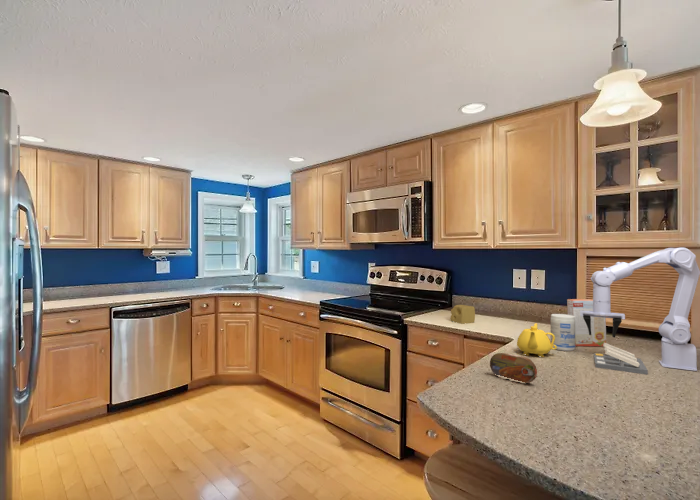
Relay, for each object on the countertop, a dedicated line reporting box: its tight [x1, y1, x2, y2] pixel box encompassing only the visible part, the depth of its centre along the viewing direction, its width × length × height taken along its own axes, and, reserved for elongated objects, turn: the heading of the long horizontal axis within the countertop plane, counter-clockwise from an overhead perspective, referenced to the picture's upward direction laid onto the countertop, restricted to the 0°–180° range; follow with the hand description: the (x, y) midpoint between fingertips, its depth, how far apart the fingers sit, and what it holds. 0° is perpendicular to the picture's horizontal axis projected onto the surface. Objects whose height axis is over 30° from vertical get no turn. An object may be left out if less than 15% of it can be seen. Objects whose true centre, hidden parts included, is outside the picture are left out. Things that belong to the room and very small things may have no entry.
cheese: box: [449, 304, 476, 325], centre depth 222 cm, size 10×11×10 cm
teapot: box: [516, 322, 557, 358], centre depth 151 cm, size 20×15×12 cm
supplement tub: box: [550, 313, 576, 352], centre depth 160 cm, size 10×10×15 cm
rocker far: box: [603, 342, 636, 358], centre depth 141 cm, size 10×3×1 cm, turn 58°
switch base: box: [593, 352, 649, 375], centre depth 136 cm, size 15×16×3 cm
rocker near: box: [604, 349, 640, 367], centre depth 131 cm, size 10×3×1 cm, turn 58°
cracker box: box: [566, 298, 607, 348], centre depth 166 cm, size 14×6×21 cm, turn 84°
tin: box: [489, 352, 538, 384], centre depth 121 cm, size 15×3×8 cm, turn 40°
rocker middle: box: [603, 346, 637, 361], centre depth 136 cm, size 10×3×1 cm, turn 58°
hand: (601, 335), depth 143 cm, fingers open, 7 cm apart
